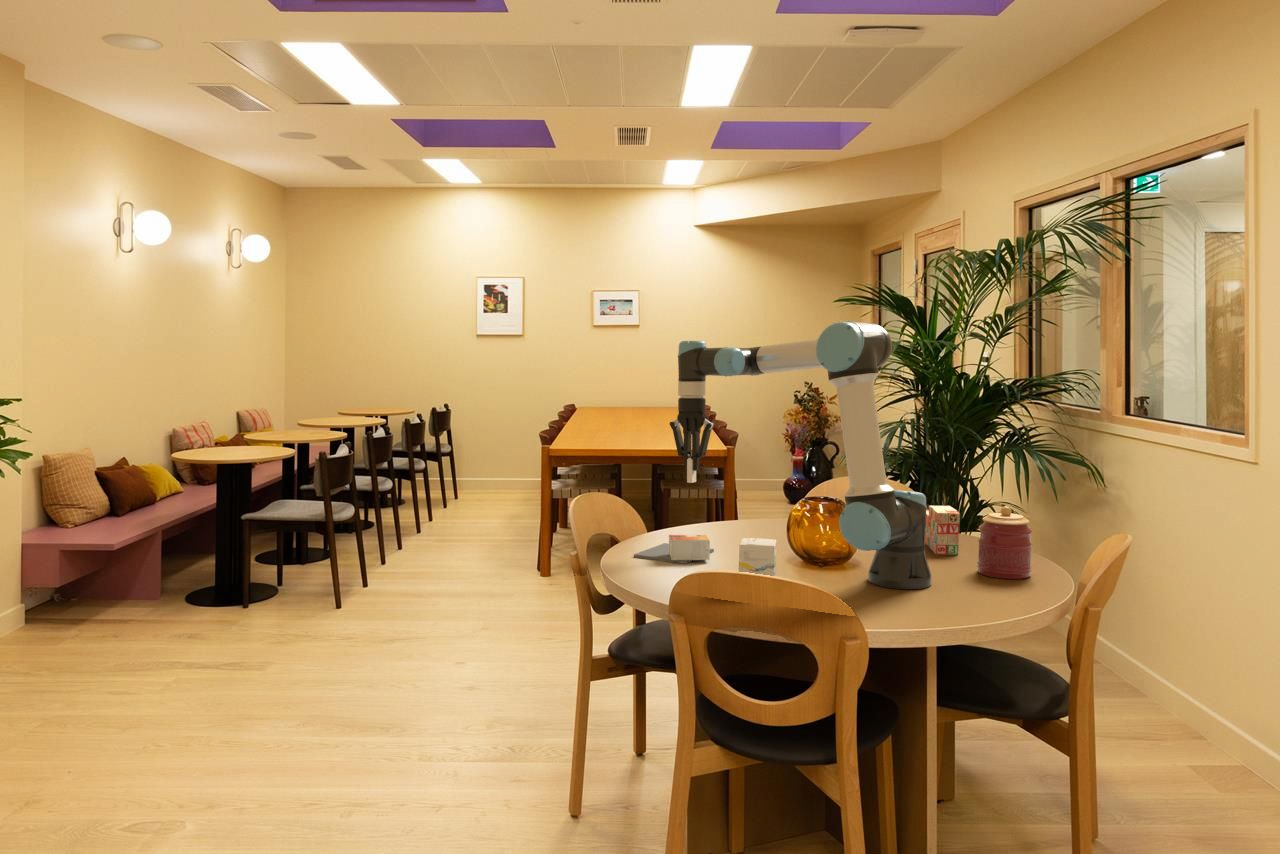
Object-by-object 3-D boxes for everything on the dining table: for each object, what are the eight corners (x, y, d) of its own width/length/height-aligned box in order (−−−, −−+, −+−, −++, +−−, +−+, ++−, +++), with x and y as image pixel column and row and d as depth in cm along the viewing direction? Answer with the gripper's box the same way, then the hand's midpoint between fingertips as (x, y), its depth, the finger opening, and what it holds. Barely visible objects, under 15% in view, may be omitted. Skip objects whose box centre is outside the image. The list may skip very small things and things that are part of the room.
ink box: (774, 594, 220) (774, 545, 219) (737, 592, 222) (738, 543, 221) (776, 585, 229) (776, 538, 228) (741, 583, 230) (741, 537, 229)
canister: (966, 570, 246) (968, 503, 244) (1005, 566, 250) (1007, 501, 249) (1001, 581, 233) (1004, 511, 232) (1042, 577, 238) (1045, 509, 237)
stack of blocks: (921, 540, 286) (922, 500, 285) (942, 540, 285) (943, 500, 284) (936, 555, 265) (937, 512, 264) (958, 555, 264) (960, 512, 263)
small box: (710, 540, 252) (671, 540, 251) (710, 560, 252) (671, 560, 252) (706, 534, 260) (668, 534, 259) (705, 554, 260) (668, 554, 260)
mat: (713, 551, 267) (713, 548, 267) (685, 563, 251) (685, 560, 251) (664, 545, 275) (664, 543, 275) (633, 557, 259) (633, 554, 259)
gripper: (719, 396, 257) (718, 482, 259) (677, 396, 264) (676, 479, 265) (707, 397, 251) (707, 485, 252) (664, 397, 257) (664, 482, 259)
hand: (691, 482), depth 259 cm, fingers closed
